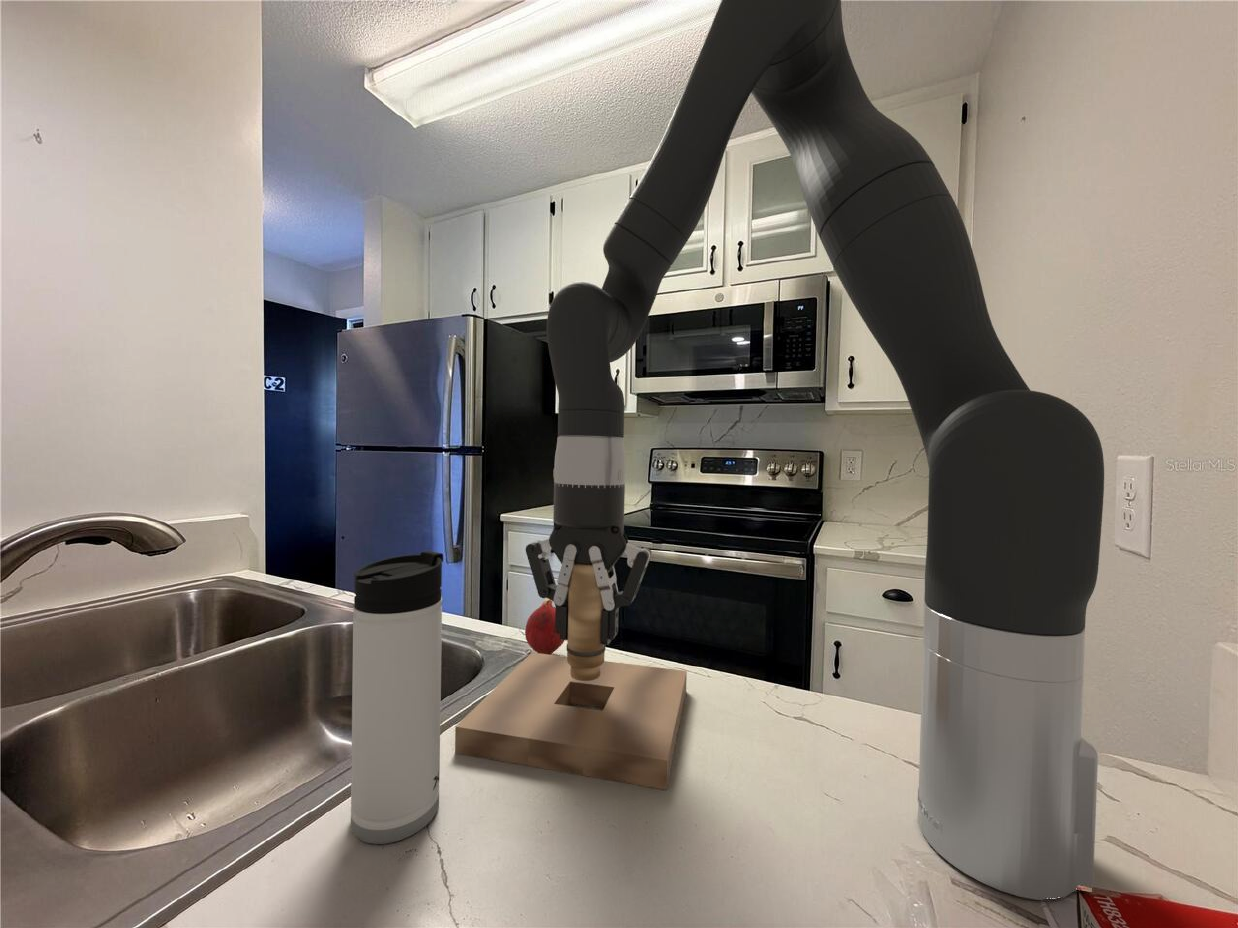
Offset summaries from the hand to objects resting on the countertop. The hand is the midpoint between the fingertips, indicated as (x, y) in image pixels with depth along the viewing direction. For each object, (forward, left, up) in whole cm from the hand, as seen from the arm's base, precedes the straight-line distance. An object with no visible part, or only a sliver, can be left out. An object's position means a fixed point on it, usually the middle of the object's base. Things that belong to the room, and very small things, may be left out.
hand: (586, 639), depth 52 cm
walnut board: (0, 0, -9) cm, 9 cm away
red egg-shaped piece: (+10, -14, -9) cm, 19 cm away
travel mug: (+10, +17, -9) cm, 22 cm away
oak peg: (0, 0, -4) cm, 4 cm away
